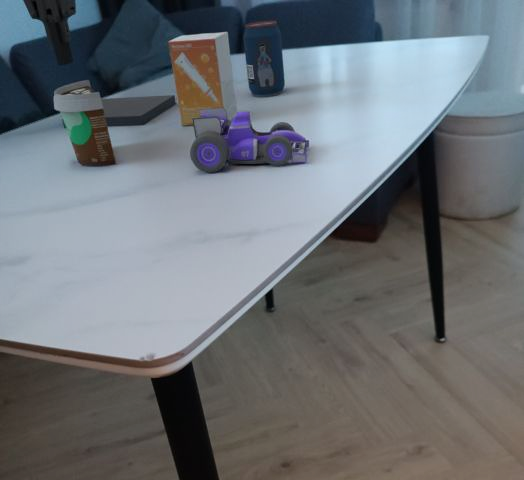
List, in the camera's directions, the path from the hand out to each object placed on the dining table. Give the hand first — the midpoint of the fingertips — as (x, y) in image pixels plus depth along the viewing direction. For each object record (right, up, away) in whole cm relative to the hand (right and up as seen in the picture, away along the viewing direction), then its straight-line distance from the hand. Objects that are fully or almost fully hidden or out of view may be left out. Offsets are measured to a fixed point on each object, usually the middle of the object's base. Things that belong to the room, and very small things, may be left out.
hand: (65, 63), depth 105 cm
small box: (+26, -12, -3) cm, 28 cm away
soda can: (+36, -1, +10) cm, 37 cm away
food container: (+9, -22, -15) cm, 28 cm away
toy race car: (+33, -25, -23) cm, 48 cm away
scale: (+8, -6, +7) cm, 13 cm away
